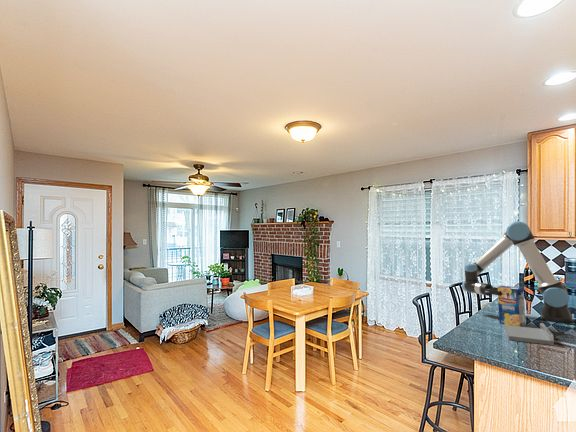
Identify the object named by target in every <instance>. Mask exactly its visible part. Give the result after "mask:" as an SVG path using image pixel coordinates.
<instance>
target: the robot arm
mask: <svg viewBox="0 0 576 432" xmlns="http://www.w3.org/2000/svg"><path fill="white" fill-rule="evenodd" d="M535 240H536V237H535V236H534V234H533V232H532V231H531V229H530V226H529V225H528V224H526V223H525V222H523V221H513V222H511V223H509V224H508V225H507V227H506V230H505V232H504V233H503V234H502V237H501V238H500V239H499V240H498V241H496V243H494V244H493V245H492V246H491V247H490V248H488V250H487V251H486V252H485V253H484V254H482V255H481V256H480V257H479V258H478V259H476V261H474V262H473V263H466V264H464V269H463V270H464V278H465V280H463V282H462V283H461V287H462V290H463V291H465V292H467V293H471V294H477V295H480V296H483V295H484V296H488V297H489V296H493V295H494V296H498V295H499V296H501V295H502V292H501V291H498V287H495V286H493V285H492V284H490V283H485V282H479V275H481V273H482V272H483V271H485V269H487V268H488V267H489V266H490V265H491V264H492V263H494V262H495V261H496V260H497V259H498V258H499V257H501V256H502V255H503V254H504V253H505V252H506V251H507V250H508V249H510V248H511V247H512V246H515V247H517V248H518V250H519V251H520V253H521V254H522V256H523V258H524V260H525V262H526V263H527V265H528V267H529V269H530V270H531V272H532V274H533V276H534V278H535V279H536V280H537V282H538V284H537V289H538V290H539V293H540V294H541V296H542V299H543V307H542V309H541V312H540V318H542V319H544V320H546V321H550V322H551V321H552V322H558V323H571V322H572V323H573V321H574V320H573V319H574V318H573V316H572V314H571V312H570V310H569V309H570V308H569V302H570V295H569V293H568V286H567V284H566V283H565V282H561V280H559V279H557V278H555V276H554V275H553V273H552V271H551V269H550V267H549V266H548V264H547V262H546V261H545V259H544V257H543V255H542V254H541V252H540V250H539V249H538V247H537V245H536V243H535ZM498 292H499V294H498ZM507 294H508V295H507ZM514 294H515V298H516V293H514ZM506 295H507V296H509V293H506ZM522 297H523V293H522Z"/></svg>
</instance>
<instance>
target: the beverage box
mask: <svg viewBox="0 0 576 432" xmlns="http://www.w3.org/2000/svg"><path fill="white" fill-rule="evenodd" d="M497 288H498V291H501V292H502V295H501V296H499V295H497V300H498V317H499V318H498V319H499V320H498V322H499V324H501V325H503V326H504V325H510V326H519V327H526V315H525V314H526V313H525V311H526V310H525V298H524V297H525V294H524V287H517V286H510V285H508V286H507V285H500V286H499V285H498V286H497ZM506 293H509V296H507V295H508V294H507V295H506ZM514 293H516V298H515V294H514ZM522 293H523V297H522ZM498 294H499V292H498Z"/></svg>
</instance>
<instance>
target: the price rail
mask: <svg viewBox="0 0 576 432" xmlns="http://www.w3.org/2000/svg"><path fill="white" fill-rule="evenodd" d="M539 329H541V330H542V332H543V333H544V334H545V336H546V337H547V338H548V339H549V341H555V340H554V333H552V332H551V330H550V329H549V328H548V326H546V325H545V324H544V323H543V322H540V323H539Z"/></svg>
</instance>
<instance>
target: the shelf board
mask: <svg viewBox="0 0 576 432" xmlns="http://www.w3.org/2000/svg"><path fill="white" fill-rule="evenodd" d="M503 330H504V331H505V334H506V336H507V338H508V341H516V342H525V343H530V344H531V343H532V344H538V343H539V345H547V346H555V342H554V341H555V340H554V341H549V339H548V338H547V337H546V336H545V334H544V333H543V332H542V330H541V329H540V327H538V328H537V327H529V326H528V327H527V326H524V327H519V326H510V325H504V324H503Z"/></svg>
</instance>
